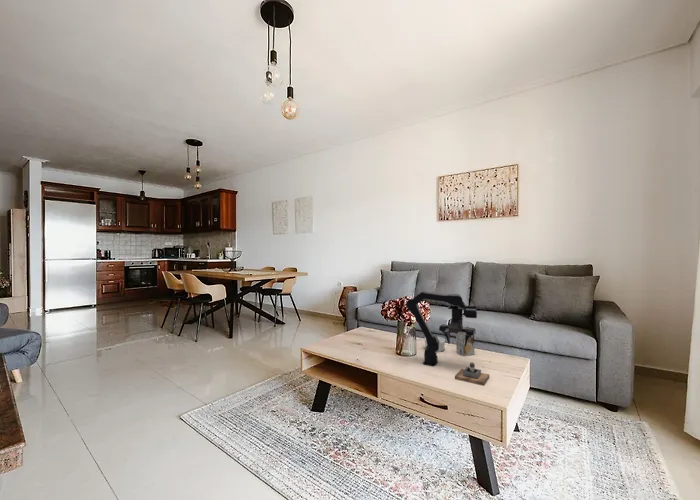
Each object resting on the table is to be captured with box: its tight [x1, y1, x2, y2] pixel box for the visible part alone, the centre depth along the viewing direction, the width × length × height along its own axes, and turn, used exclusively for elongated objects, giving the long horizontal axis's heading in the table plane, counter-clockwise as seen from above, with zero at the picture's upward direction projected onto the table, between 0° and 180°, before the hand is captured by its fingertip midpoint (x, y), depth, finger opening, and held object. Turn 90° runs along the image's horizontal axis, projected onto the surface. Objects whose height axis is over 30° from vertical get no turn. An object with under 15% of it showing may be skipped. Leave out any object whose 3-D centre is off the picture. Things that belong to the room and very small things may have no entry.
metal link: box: [463, 366, 482, 379], centre depth 162 cm, size 7×7×2 cm
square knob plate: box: [454, 362, 490, 386], centre depth 162 cm, size 14×12×8 cm
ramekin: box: [423, 336, 446, 353], centre depth 208 cm, size 13×13×7 cm
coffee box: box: [455, 326, 476, 357], centre depth 199 cm, size 9×6×16 cm
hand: (457, 345), depth 178 cm, fingers open, 9 cm apart
